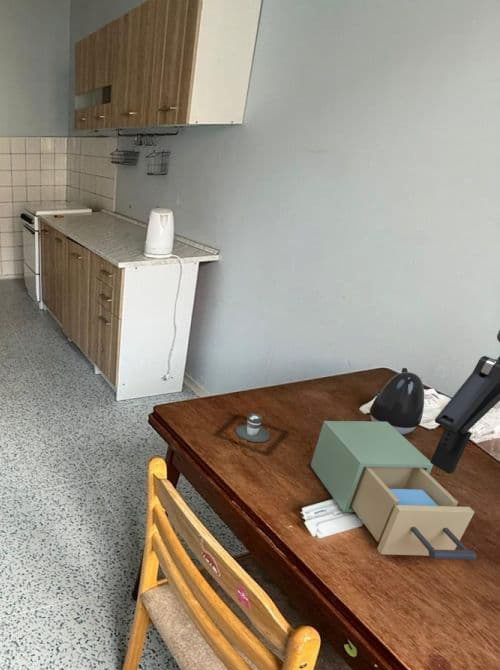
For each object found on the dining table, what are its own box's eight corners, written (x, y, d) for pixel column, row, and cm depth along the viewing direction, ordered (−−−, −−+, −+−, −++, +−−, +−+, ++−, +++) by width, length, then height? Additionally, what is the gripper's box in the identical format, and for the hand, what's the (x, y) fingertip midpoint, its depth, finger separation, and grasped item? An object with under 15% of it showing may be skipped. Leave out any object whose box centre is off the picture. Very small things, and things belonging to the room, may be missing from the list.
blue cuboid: (409, 517, 86) (422, 489, 83) (427, 537, 81) (441, 509, 78) (370, 516, 86) (381, 488, 83) (385, 536, 82) (397, 508, 79)
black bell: (410, 422, 117) (432, 367, 110) (418, 444, 109) (443, 386, 102) (362, 414, 121) (381, 361, 114) (367, 435, 113) (387, 378, 106)
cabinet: (411, 513, 89) (434, 464, 84) (343, 512, 90) (360, 463, 85) (370, 467, 102) (387, 421, 97) (310, 465, 103) (323, 420, 97)
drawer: (478, 587, 74) (506, 541, 69) (402, 584, 74) (424, 539, 70) (403, 502, 91) (420, 460, 86) (341, 500, 92) (356, 459, 87)
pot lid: (285, 432, 115) (290, 415, 112) (266, 453, 107) (270, 435, 105) (238, 415, 122) (241, 399, 120) (216, 434, 115) (219, 417, 112)
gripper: (582, 298, 63) (512, 431, 73) (439, 318, 58) (385, 459, 67) (659, 315, 57) (571, 458, 67) (507, 339, 51) (436, 492, 61)
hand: (477, 459), depth 67 cm, fingers open, 13 cm apart
